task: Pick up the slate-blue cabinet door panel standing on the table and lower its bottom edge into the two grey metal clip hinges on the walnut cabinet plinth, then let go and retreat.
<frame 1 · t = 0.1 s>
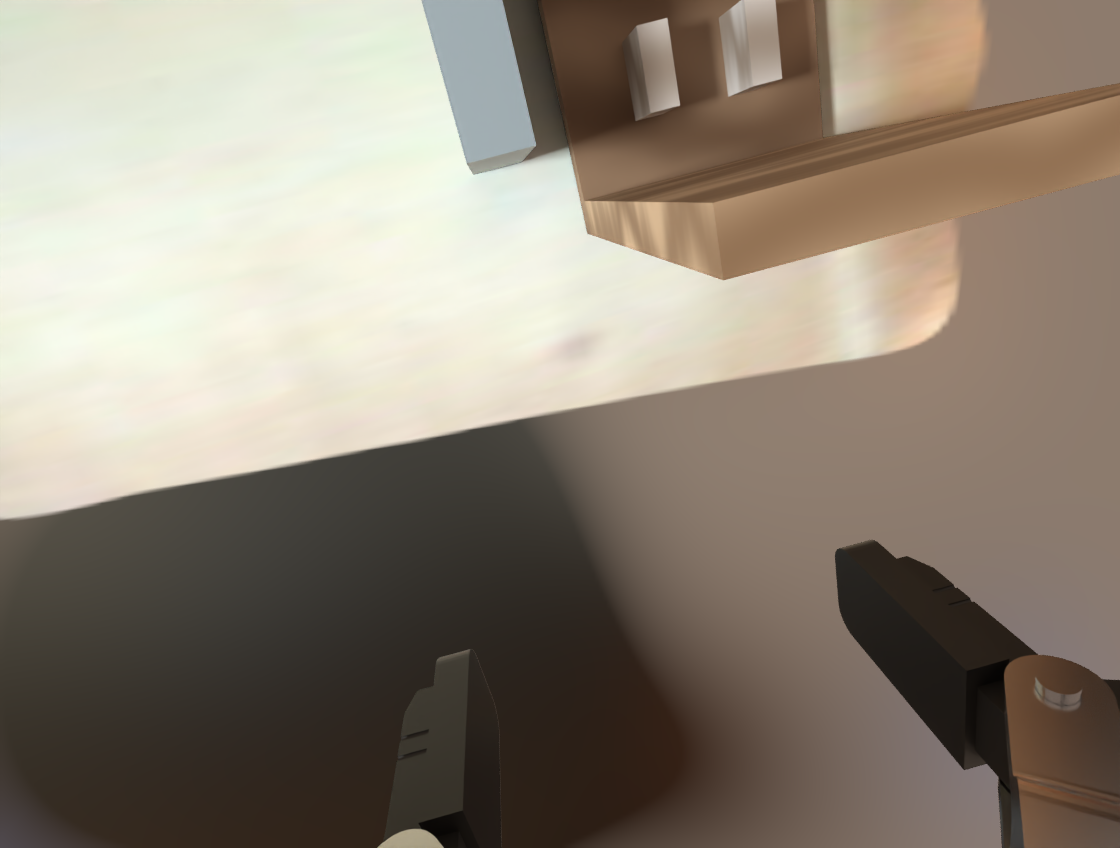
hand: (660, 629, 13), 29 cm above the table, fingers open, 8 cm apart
door: (463, 36, 33), on the table
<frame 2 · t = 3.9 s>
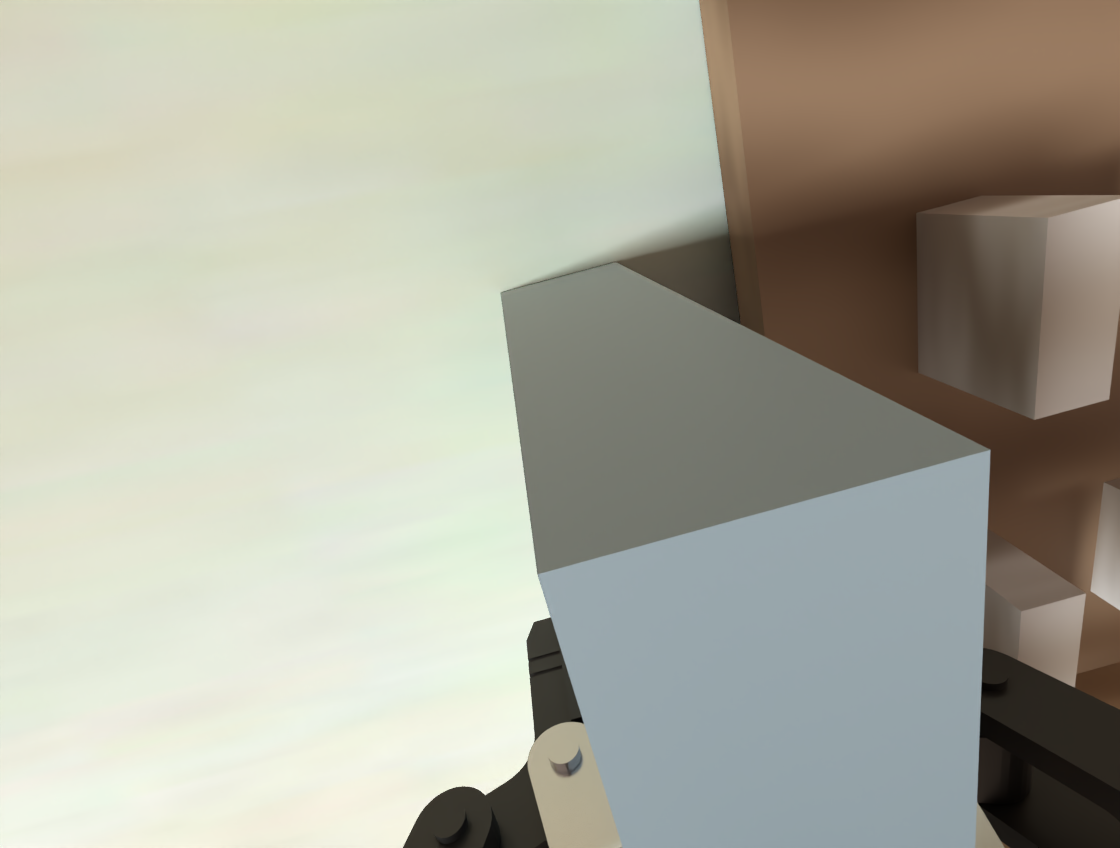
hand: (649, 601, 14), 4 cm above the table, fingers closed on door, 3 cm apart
door: (614, 511, 17), on the table, touching gripper
hinge base: (1000, 405, 18), on the table
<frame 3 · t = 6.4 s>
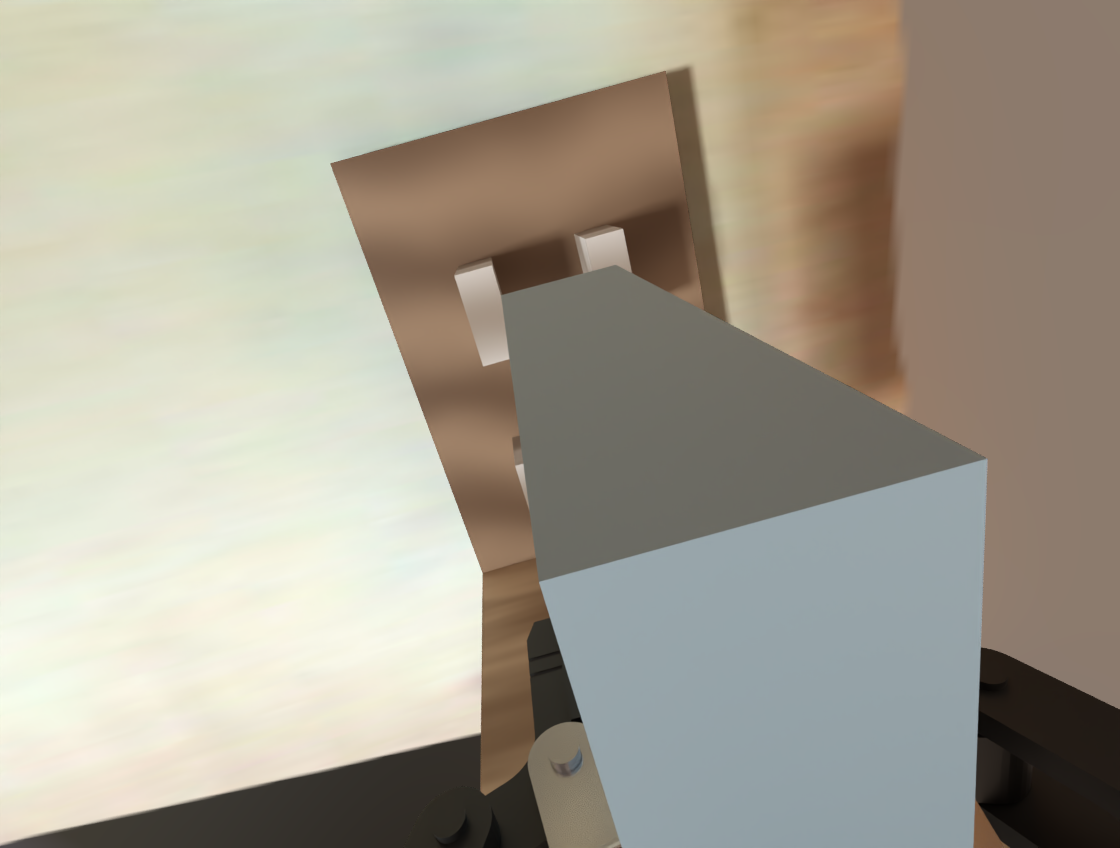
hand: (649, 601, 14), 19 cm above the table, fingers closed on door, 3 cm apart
door: (614, 513, 18), point 15 cm above the table, touching gripper
hinge base: (563, 366, 31), on the table
when the fingers open (7 cm above the table, at t = 9.0 s): door drops 1 cm, resting on hinge base.
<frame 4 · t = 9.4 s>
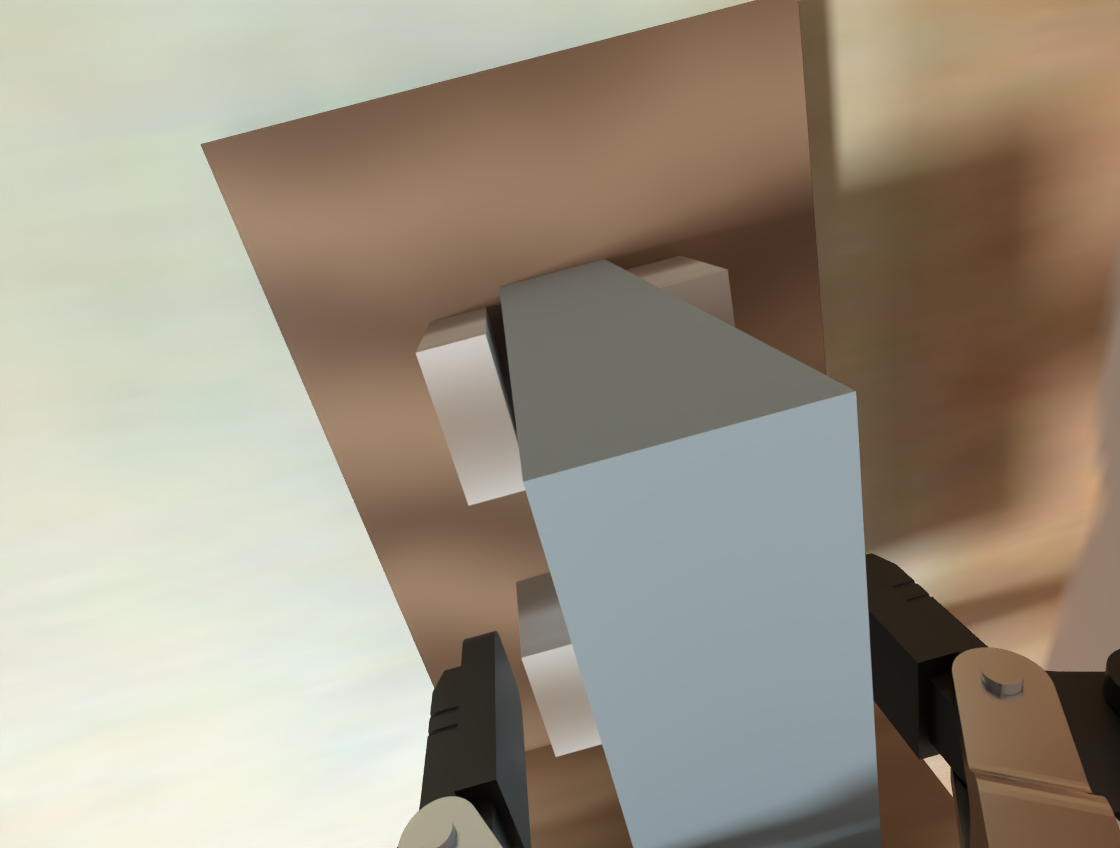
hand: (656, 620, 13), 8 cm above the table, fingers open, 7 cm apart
door: (605, 491, 19), point 1 cm above the table, touching hinge base
hinge base: (596, 469, 20), on the table
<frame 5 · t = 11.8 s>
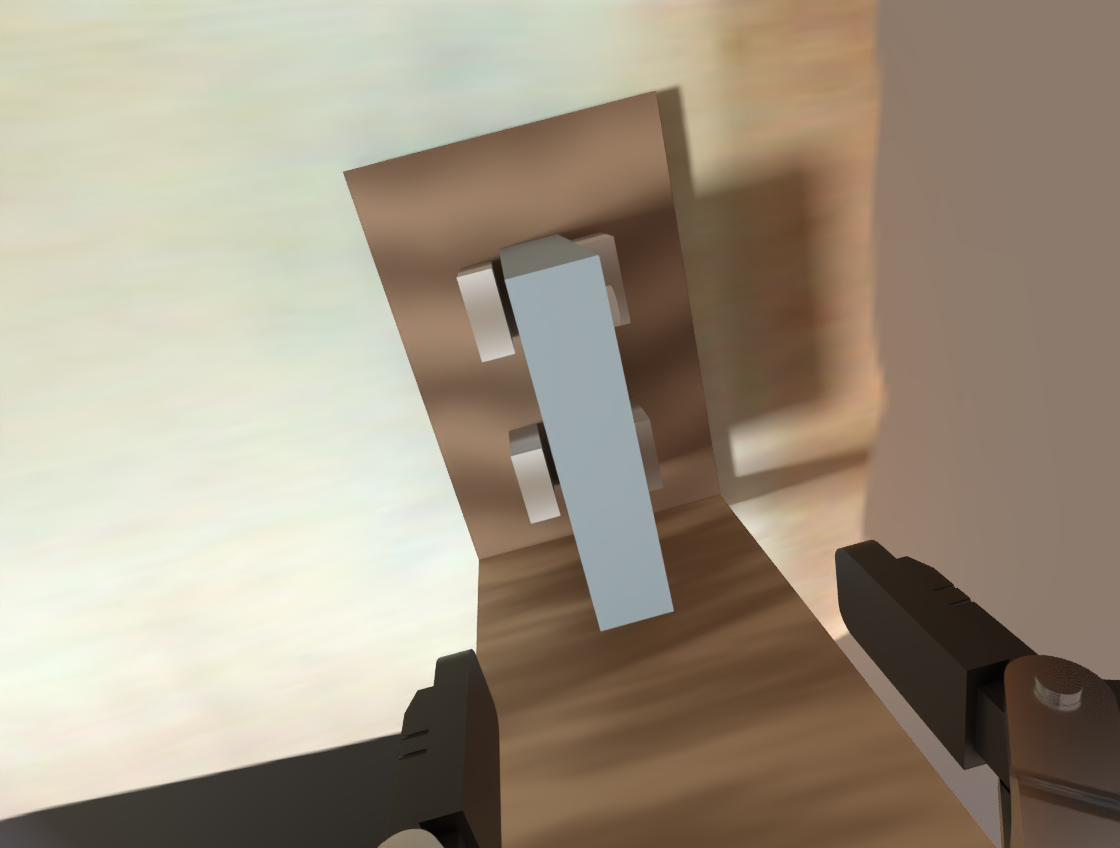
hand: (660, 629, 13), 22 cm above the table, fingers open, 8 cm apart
door: (561, 373, 32), point 1 cm above the table, touching hinge base
hinge base: (557, 364, 33), on the table
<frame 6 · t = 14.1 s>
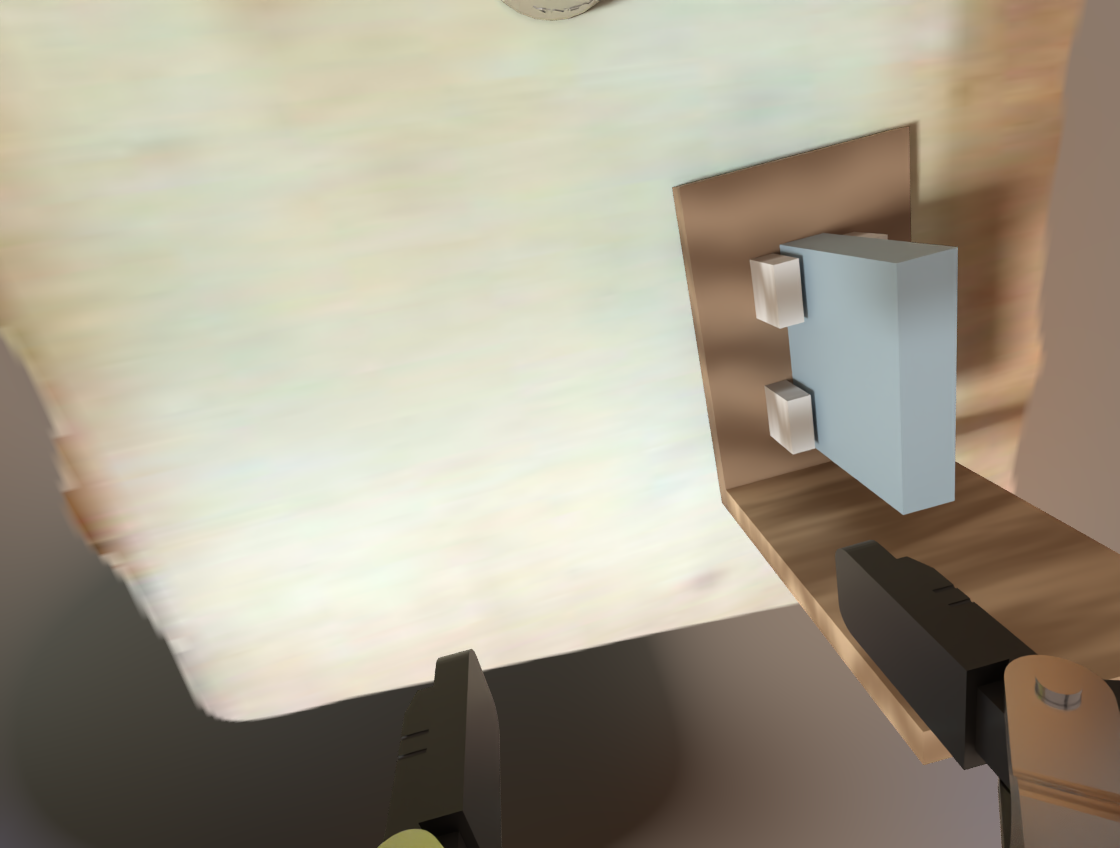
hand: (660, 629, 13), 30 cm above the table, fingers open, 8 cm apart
door: (809, 340, 41), point 1 cm above the table, touching hinge base
hinge base: (799, 334, 43), on the table
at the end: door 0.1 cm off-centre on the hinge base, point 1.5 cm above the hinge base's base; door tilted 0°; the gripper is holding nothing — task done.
